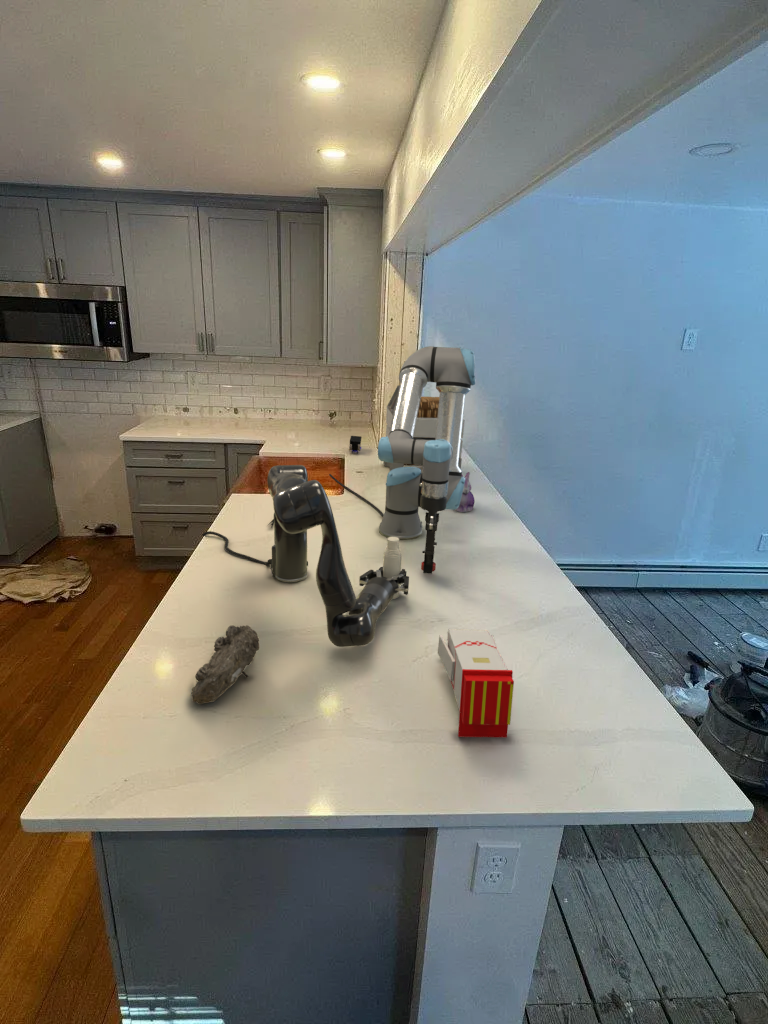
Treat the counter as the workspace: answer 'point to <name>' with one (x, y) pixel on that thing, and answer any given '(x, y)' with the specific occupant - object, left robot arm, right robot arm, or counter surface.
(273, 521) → the feather
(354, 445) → the figurine character
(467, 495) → the figurine
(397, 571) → the bottle
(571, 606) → the counter surface
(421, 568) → the cap
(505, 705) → the toy
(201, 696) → the fossil
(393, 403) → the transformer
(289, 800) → the counter surface
